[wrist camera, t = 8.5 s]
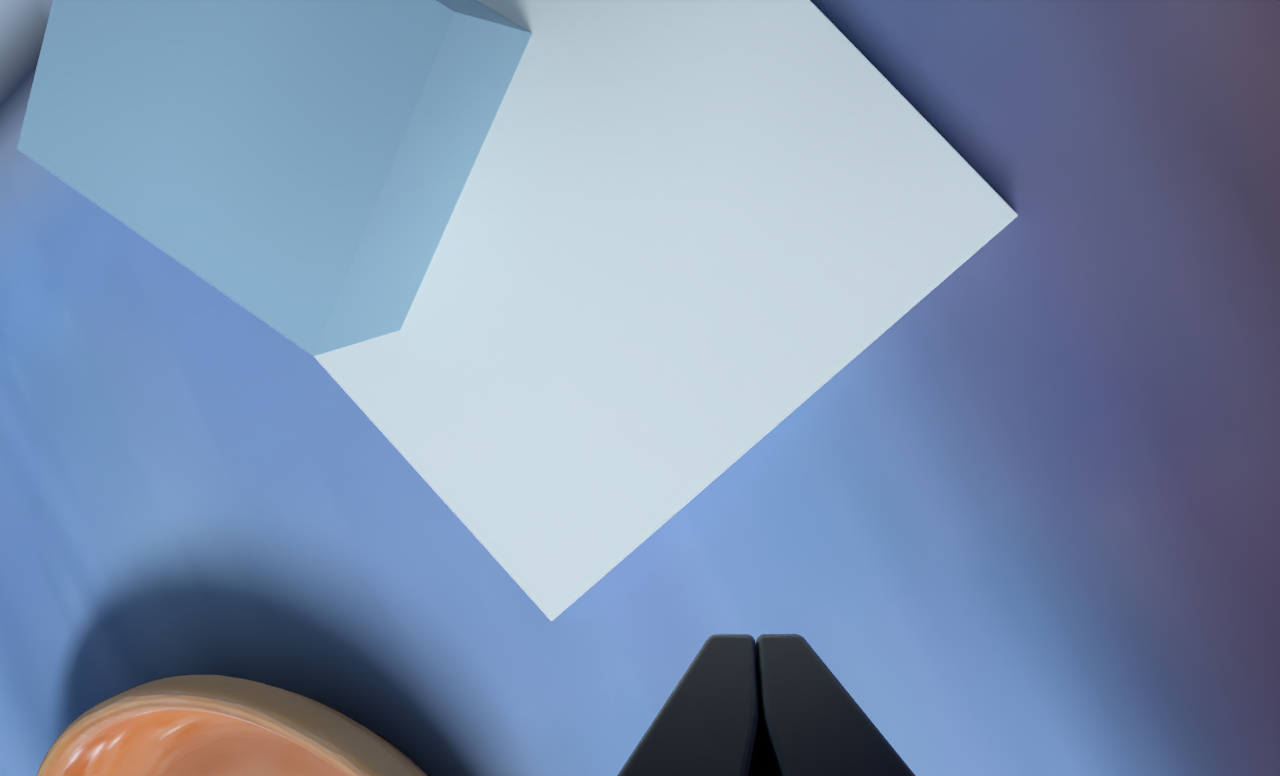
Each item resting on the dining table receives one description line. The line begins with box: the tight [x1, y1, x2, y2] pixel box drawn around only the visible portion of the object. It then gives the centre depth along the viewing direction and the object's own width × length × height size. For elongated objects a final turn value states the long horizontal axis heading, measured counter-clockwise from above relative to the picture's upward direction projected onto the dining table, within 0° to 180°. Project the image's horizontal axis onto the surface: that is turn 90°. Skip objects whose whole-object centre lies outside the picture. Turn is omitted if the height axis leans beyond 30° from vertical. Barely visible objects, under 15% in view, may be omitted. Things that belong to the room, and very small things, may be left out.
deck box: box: [17, 0, 532, 356], centre depth 19 cm, size 3×7×8 cm
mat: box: [314, 0, 1018, 621], centre depth 19 cm, size 14×13×1 cm
